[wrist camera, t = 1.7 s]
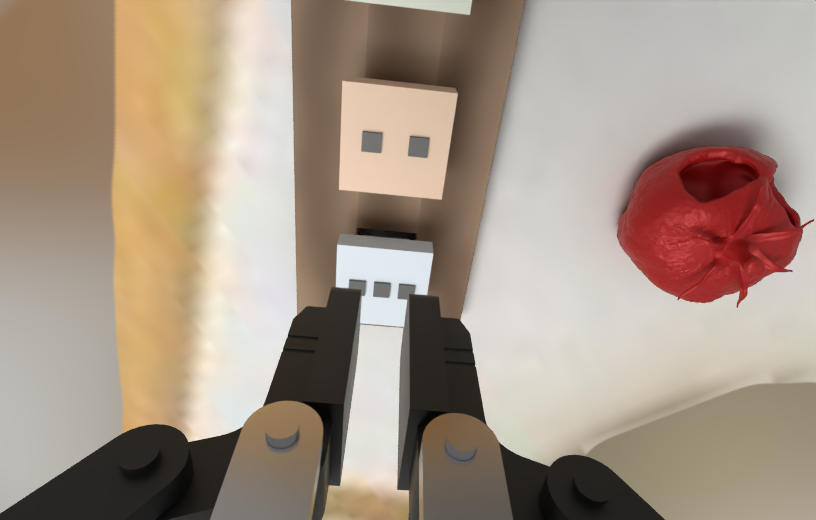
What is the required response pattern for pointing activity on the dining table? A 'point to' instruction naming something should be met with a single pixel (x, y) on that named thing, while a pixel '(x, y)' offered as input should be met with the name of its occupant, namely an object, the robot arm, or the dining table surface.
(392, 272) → the key three
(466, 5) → the key one
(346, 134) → the key two
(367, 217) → the key board
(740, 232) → the pomegranate
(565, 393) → the dining table surface
